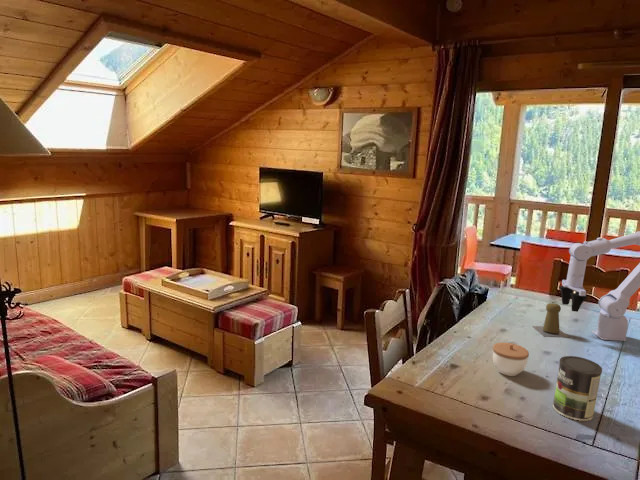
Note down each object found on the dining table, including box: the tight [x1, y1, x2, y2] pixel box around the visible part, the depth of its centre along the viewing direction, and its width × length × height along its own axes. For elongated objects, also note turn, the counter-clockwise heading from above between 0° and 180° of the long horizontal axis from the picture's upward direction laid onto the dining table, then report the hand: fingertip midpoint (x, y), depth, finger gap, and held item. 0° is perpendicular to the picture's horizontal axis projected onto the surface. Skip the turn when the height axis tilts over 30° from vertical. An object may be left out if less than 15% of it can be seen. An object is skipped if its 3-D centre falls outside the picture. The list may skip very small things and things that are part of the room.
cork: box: [542, 302, 562, 333], centre depth 188 cm, size 6×6×11 cm
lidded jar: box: [492, 342, 530, 377], centre depth 153 cm, size 11×11×9 cm
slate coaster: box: [532, 325, 570, 338], centre depth 190 cm, size 10×10×1 cm
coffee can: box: [552, 355, 603, 422], centre depth 131 cm, size 10×10×14 cm
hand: (569, 307), depth 187 cm, fingers open, 7 cm apart
